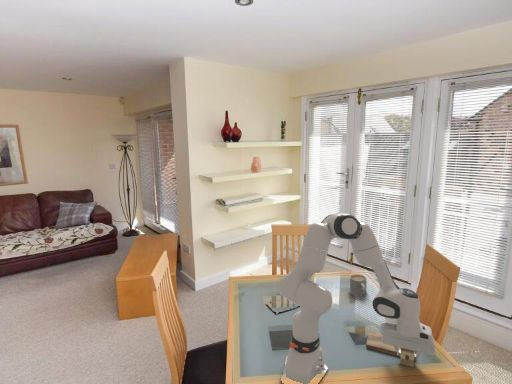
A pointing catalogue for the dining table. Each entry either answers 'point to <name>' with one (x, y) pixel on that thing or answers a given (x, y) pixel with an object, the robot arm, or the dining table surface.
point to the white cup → (390, 320)
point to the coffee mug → (358, 285)
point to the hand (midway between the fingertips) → (407, 356)
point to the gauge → (407, 357)
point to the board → (379, 344)
